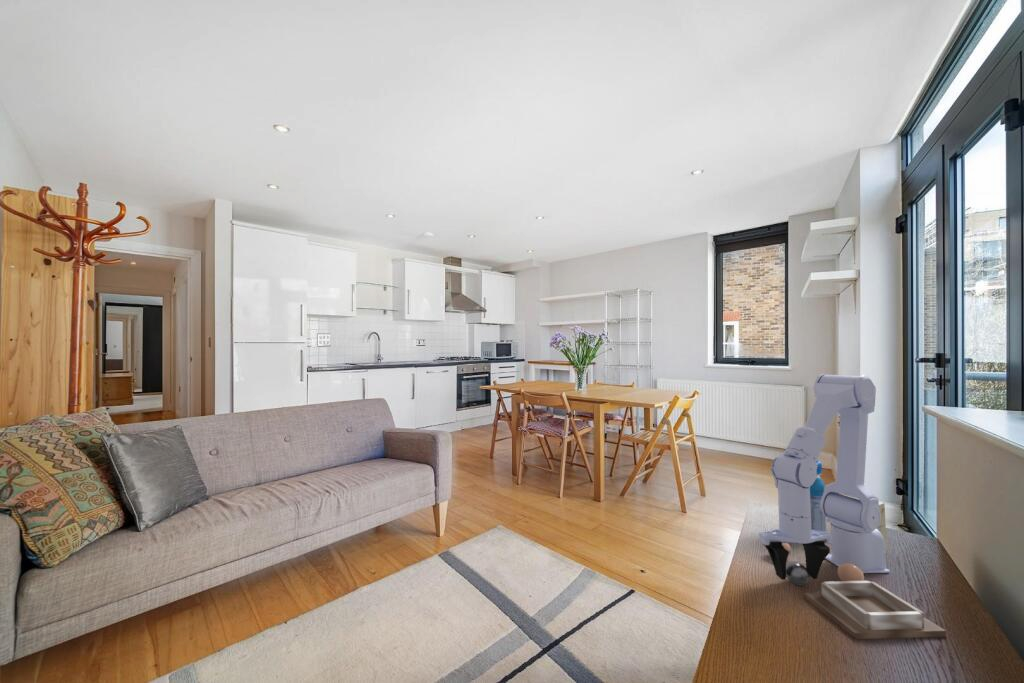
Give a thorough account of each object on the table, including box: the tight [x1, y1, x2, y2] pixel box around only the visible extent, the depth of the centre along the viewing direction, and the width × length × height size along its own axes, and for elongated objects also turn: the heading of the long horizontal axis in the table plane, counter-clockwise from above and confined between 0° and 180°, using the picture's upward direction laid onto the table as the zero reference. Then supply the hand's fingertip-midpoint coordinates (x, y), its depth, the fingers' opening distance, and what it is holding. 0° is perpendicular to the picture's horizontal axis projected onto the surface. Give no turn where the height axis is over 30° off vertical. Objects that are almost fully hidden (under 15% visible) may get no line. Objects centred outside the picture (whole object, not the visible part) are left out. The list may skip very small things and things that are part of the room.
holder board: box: [804, 580, 947, 640], centre depth 77 cm, size 16×12×4 cm
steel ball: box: [786, 561, 810, 586], centre depth 88 cm, size 4×4×4 cm
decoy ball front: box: [782, 543, 792, 559], centre depth 99 cm, size 4×4×4 cm
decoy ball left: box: [837, 563, 865, 581], centre depth 87 cm, size 4×4×4 cm
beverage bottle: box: [810, 459, 828, 532], centre depth 111 cm, size 8×8×20 cm
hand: (796, 576), depth 88 cm, fingers open, 6 cm apart
